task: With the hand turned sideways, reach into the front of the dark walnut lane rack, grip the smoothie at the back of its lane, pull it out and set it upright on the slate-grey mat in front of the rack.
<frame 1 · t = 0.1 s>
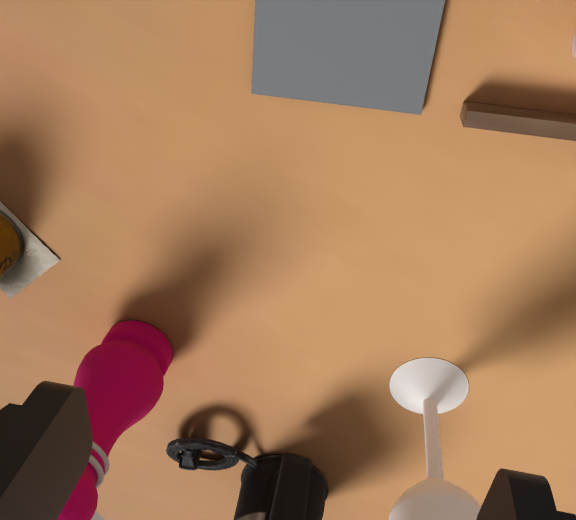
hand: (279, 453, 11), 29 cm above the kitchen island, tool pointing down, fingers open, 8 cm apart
milk frother: (251, 463, 57), on the kitchen island
slate mat: (347, 10, 33), on the kitchen island
pepper mill: (141, 345, 51), on the kitchen island
champagne flute: (428, 385, 48), on the kitchen island
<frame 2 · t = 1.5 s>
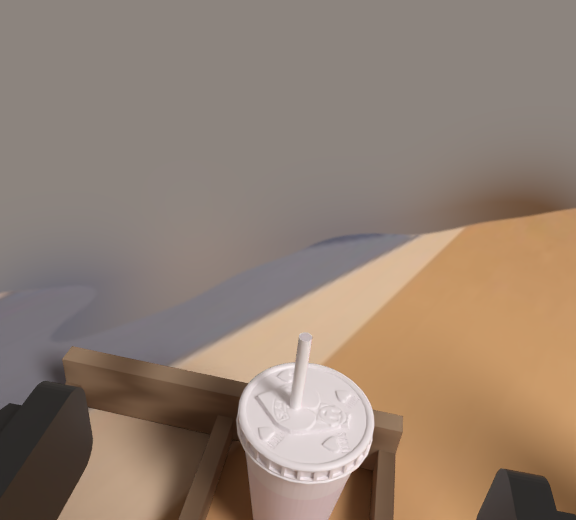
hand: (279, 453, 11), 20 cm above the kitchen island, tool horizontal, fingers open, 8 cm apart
lane rack: (198, 513, 31), on the kitchen island
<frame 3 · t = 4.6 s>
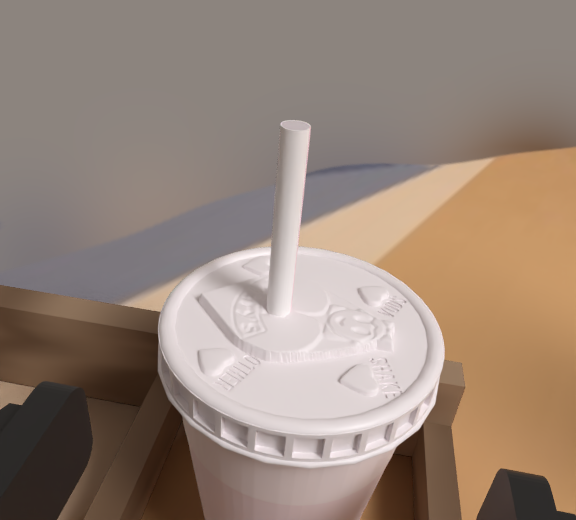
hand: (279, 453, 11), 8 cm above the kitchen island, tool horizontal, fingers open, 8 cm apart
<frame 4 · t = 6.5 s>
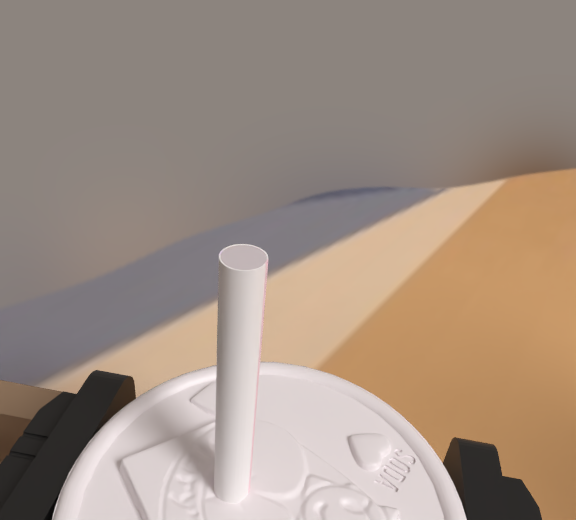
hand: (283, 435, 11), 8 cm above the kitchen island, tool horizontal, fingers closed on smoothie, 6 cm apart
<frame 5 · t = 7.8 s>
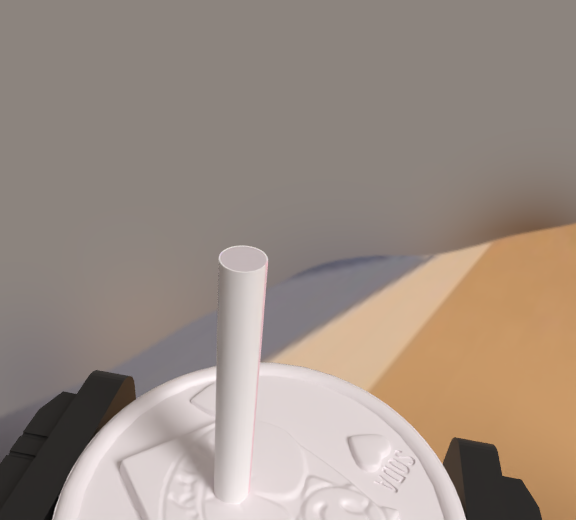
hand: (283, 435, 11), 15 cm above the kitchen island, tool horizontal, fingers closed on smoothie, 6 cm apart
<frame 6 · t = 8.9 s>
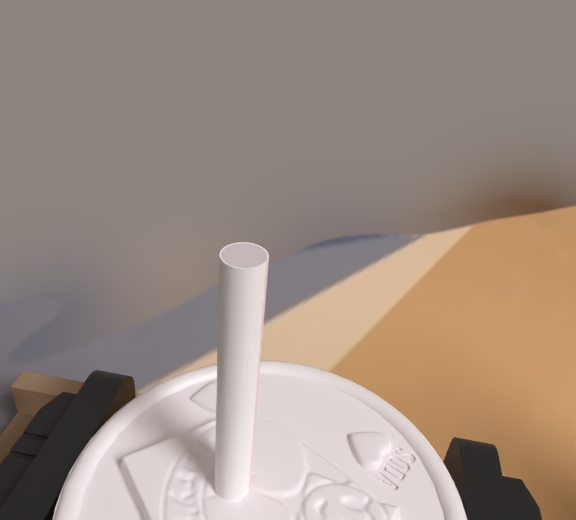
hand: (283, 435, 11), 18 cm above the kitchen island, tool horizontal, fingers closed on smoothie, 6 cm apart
when the fingers open (10 cm above the kitchen island, at t = 11.9 s): smoothie stays where it is, resting on slate mat.
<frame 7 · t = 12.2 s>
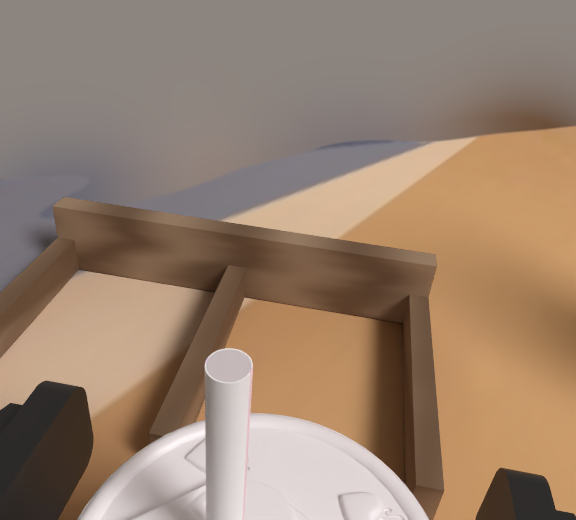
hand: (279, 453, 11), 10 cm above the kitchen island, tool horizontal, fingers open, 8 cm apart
lane rack: (209, 357, 27), on the kitchen island
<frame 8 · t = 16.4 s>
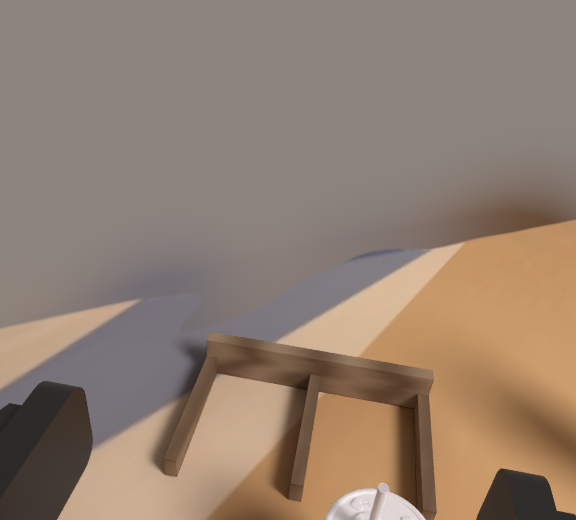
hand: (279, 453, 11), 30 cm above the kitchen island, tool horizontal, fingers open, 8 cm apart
lane rack: (305, 434, 48), on the kitchen island
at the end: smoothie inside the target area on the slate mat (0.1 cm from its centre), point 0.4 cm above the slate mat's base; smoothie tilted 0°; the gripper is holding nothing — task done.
